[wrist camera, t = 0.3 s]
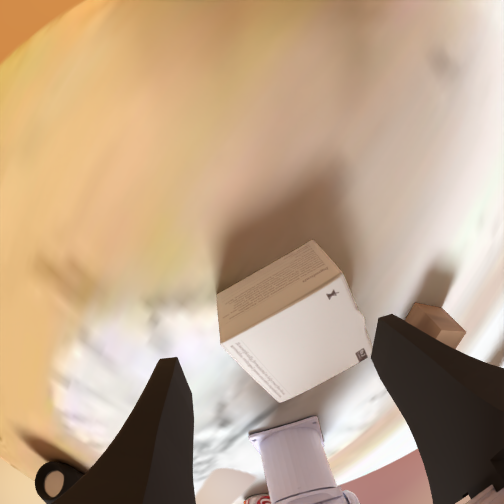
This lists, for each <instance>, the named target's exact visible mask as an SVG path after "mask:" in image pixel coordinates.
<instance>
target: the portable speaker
mask: <svg viewBox="0 0 504 504" xmlns="http://www.w3.org/2000/svg"><path fill="white" fill-rule="evenodd" d="M83 476H84V475H83V474H82V473H80V472H79V471H77V470H75V469H74V468H72V467H71V466H69V465H66V464H62V463H58V462H48V463H45V464H44V465H43V466H42V467H41V468H40V469H39V470H38V472H37V475H36V478H35V488H36V491H37V493H38V495H39V496H40V497H41V498H42V499H43V500H44V501H45V502H46V503H47V504H51V503H52V502H54V501H55V500H56V499H58V498H59V497H60V496H62V495H63V494H64V493H65V492H67V491H68V490H69V489H70V488H71V487H72V486H73V485H74V484H75V483H76V482H77V481H78V480H79V479H81V478H82V477H83Z"/></svg>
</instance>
